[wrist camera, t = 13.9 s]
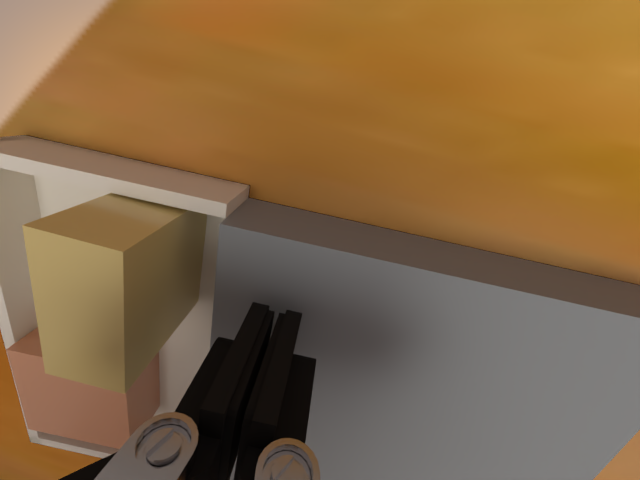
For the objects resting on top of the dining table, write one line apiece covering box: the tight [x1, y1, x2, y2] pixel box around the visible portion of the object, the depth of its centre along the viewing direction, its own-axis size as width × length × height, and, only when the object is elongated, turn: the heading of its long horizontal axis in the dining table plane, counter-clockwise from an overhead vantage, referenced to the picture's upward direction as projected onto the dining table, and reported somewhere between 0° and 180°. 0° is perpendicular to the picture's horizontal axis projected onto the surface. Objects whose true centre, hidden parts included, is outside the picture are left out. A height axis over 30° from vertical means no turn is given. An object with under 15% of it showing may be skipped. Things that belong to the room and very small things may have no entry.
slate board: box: [210, 198, 640, 480], centre depth 14 cm, size 14×16×3 cm
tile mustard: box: [22, 193, 207, 394], centre depth 11 cm, size 5×5×2 cm
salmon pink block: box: [6, 327, 160, 449], centre depth 15 cm, size 5×5×2 cm
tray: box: [0, 135, 250, 458], centre depth 14 cm, size 15×9×2 cm, turn 168°
